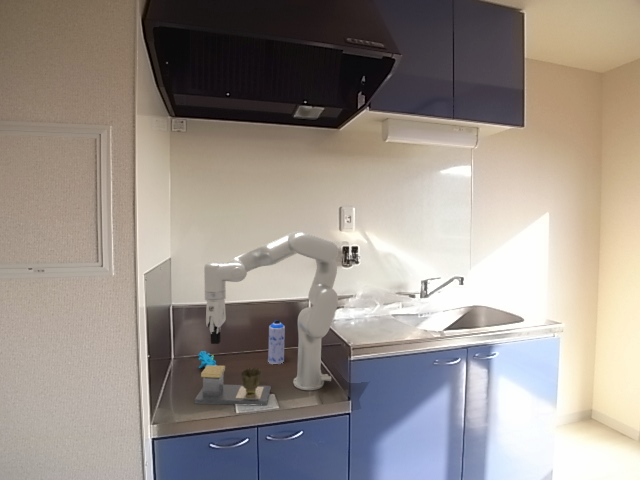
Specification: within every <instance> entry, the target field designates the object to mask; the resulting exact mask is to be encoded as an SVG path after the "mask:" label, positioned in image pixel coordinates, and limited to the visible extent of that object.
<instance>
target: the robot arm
mask: <svg viewBox="0 0 640 480" xmlns="http://www.w3.org/2000/svg"><path fill="white" fill-rule="evenodd" d="M339 252H340V251H339V248H338V246H337V244H335V243H334V242H333V241H330V240H327V239H324V238H322V237H321V238H320V237H318V236H315V235H312V234H310V233H307V232H304V231H297V230H296V231H295V230H294V231H292V232H290V233H287V234H285V235H283V236H281V237H278V238H277V239H275V240H273V241H270V242H268V243H266V244H263V245H260V246H259V247H257V248H254V249H252V250H249V251H246V252H244V253H242V254H240V255H237V256H236V257H233V258H232V259H230V260H228V261H227V262H226V263H224V262H223V261H210V262H207V263H205V264H204V271H203V272H204V278H203V279H204V301H206V309H205V310H206V313H205V314H206V315H205V323H206V324H205V325H206V327H207V328H209V332H210V345H216V344H217V345H219V344H220V343H221V329H222V328H221V327H222V325H223V324H224V323H225V322H226V321H227V320H226V319H227V315H226V314H227V313H226V301H225V300H226V297H227V296H226V295H227V294H226V282H229V283H239V282H242V281H244V280H245V279H246V277H247V275H248V272H250V271H252V270H255V269H257V268H260V267H267V266H273V265H276V264H278V263H281V262H282V261H284V260H286V259H288V258H290V257H292V256H295V255H296V254H298V255H301V256H304V257H306V258H309V259H313V260H315V262H316V269H315V274H314V278H313V280H312V283H311V286H310V289H309V291H308V296H307V297H308V301H309V302H310V303H311V304H312V305H313V306H312V307H310V306H308V307H305V308H303V309H302V310H301V311H300V312H299V313H298V316H297V332H298V333H297V334H298V345H297V346H298V347H297V371H296V373H297V375H296V377H294V378H293V386H294V387H296V388H297V389H299V390H302V391H315V390H319V389H321V388H322V387H323V386H324V384H325V382H331V381H332V375H329V374H328V373H327V374H326V373H325V374H323V373H322V370H321V365H322V359H321V358H322V339H323V338H324V337H325V336H326V335H327V334H328V332H329V330H330V328H331V325H332V323H333V320H334V317H335V314H336V312H337V309H338V304H339V297H338V296H339V295H338V293H337V291H336V290H334V288H333V287H334V284H335V281H336V277H337V274H338V265H337V259H338V257H339Z"/></svg>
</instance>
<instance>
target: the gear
mask: <svg viewBox="0 0 640 480" xmlns="http://www.w3.org/2000/svg"><path fill="white" fill-rule="evenodd" d="M197 356H198V360H199V361H201V364H200V366H198V368H199V369H202V368H203V367H204V369H205V368H206V366H207V365H216V366H218V365H217V364H216V363H217V361H216V360H215V359H214V357H215V356H214V354H212V355H211V353H209V352H207V351H206V350H203V351H202V350H201V351H200V352H199V353H198V354H197Z"/></svg>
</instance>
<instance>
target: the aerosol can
mask: <svg viewBox="0 0 640 480" xmlns="http://www.w3.org/2000/svg"><path fill="white" fill-rule="evenodd" d="M280 320H281V319H278V318H277V319H274V322H272V323H271V324H270V325H269V326H268V354H267V355H268V357H267V363H268V362H269V363H268V364H270V365H273V364H278V365H281V363H282V364H284V363H285V339H286V338H285V337H286V335H285V333H286V331H285V329H286V328H285V327H286V326H285V325H284V324H283V323H282V322H280ZM283 362H284V363H283Z"/></svg>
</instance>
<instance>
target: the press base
mask: <svg viewBox="0 0 640 480" xmlns="http://www.w3.org/2000/svg"><path fill="white" fill-rule="evenodd" d="M224 372H225V371H224ZM224 372H223V374H222V376H221V377H220V378H208V377H202V388H201V389H200V391H199V392H198V394H197V395H196V396H195V398H194V400H193V401H194V404H200V405H204V404H205V405H232V404H260V405H259V406H267V405H268V404H267V403H268V401H267V400H269V397H270V393H271V385H259V386H258V387H257V388H256V391H255V392H254V393H252V394H249V393H247V392H246V389H245V388H244V387H243V384H224ZM261 404H262V405H261Z"/></svg>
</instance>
